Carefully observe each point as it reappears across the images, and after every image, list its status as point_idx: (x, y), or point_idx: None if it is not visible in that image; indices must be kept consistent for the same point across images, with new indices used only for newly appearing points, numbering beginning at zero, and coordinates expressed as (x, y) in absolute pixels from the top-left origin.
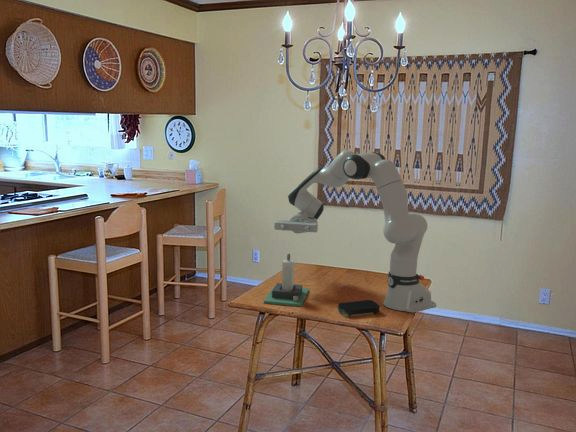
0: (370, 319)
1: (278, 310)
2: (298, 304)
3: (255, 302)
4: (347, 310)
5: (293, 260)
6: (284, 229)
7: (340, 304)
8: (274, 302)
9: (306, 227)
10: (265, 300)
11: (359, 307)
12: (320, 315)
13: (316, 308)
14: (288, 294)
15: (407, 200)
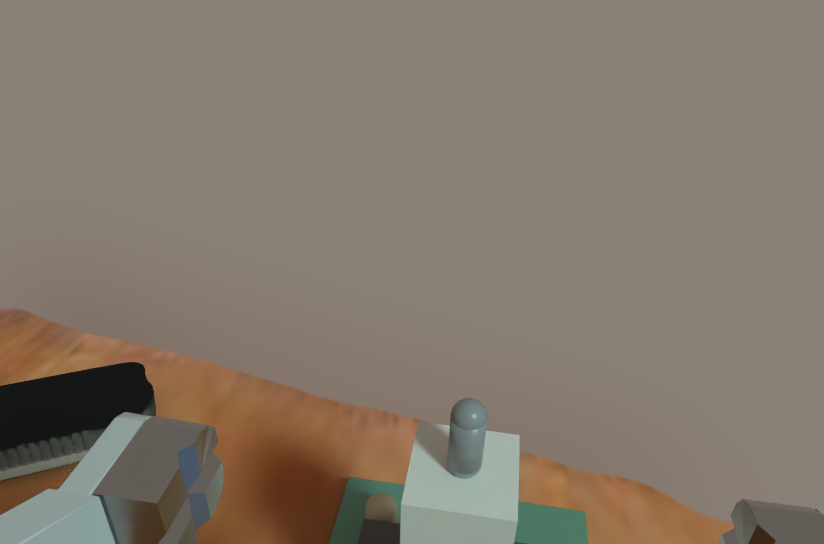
0: (38, 373)
1: None
2: (365, 481)
3: (637, 530)
4: (130, 364)
5: (411, 502)
6: (731, 536)
7: (134, 408)
8: None
9: (40, 496)
10: (577, 520)
11: (44, 391)
12: (264, 395)
13: (262, 471)
14: None
15: None
